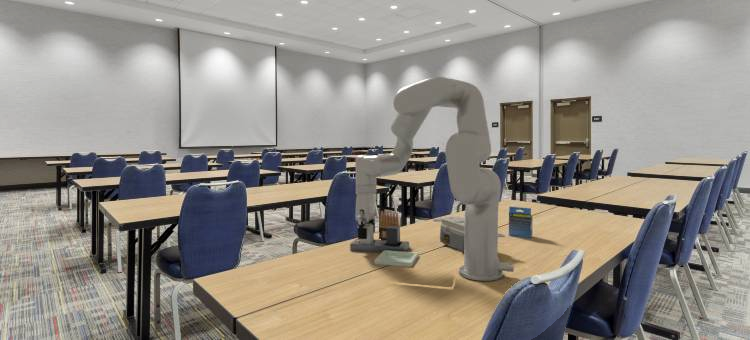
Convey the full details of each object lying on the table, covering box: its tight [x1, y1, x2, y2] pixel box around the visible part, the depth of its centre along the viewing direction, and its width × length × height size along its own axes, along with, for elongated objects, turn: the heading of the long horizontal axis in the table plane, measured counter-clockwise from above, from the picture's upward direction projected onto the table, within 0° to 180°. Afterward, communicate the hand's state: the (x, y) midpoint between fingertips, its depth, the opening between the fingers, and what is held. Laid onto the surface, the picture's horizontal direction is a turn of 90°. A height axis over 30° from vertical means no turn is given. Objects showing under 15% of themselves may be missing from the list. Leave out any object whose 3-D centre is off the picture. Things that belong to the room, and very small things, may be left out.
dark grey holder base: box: [349, 225, 410, 254], centre depth 151 cm, size 20×15×9 cm
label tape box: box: [508, 206, 533, 239], centre depth 167 cm, size 9×4×12 cm, turn 58°
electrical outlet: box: [432, 215, 506, 252], centre depth 149 cm, size 12×28×10 cm, turn 34°
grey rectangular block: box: [360, 223, 375, 244], centre depth 149 cm, size 4×4×10 cm
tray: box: [373, 250, 419, 268], centre depth 134 cm, size 12×12×2 cm
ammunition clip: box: [378, 210, 400, 240], centre depth 161 cm, size 11×2×12 cm, turn 40°
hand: (366, 235), depth 149 cm, fingers open, 9 cm apart
